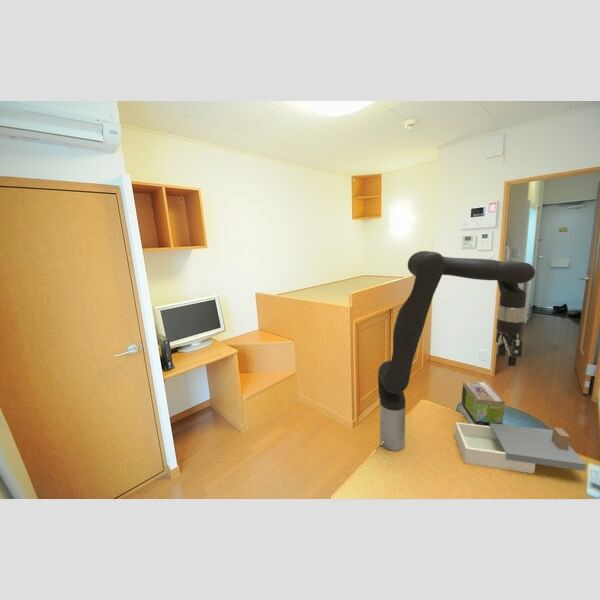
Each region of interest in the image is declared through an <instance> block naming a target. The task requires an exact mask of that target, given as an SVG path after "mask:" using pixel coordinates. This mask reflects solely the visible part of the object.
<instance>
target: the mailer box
mask: <svg viewBox="0 0 600 600" xmlns="http://www.w3.org/2000/svg"><path fill="white" fill-rule="evenodd" d="M454 437H455V439H456V443H457V445H458V448H459V451H460V454H461V455H462V459H463V461H464V462H463V463H465V464H468V465H469V464H470V465H474V466H481V467H489V468H495V469H500V470H506V471H507V470H509V471H515V472H521V473H526V474H532V473H534V474H535V468H536V464H534V463H527V462H520V461H513V460H506V452H505V451H504V449H503V447H502V445H501V444H500V442H499V440H498V439H497V437H496V435H495V433H494V432H493V430H492V428H491V426H484V425H476V424H469V423H465V422H458V421H457V422H456V421H455V426H454ZM527 472H528V473H527Z"/></svg>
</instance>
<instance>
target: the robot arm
mask: <svg viewBox="0 0 600 600" xmlns="http://www.w3.org/2000/svg"><path fill="white" fill-rule="evenodd" d="M407 269H408V271H409V273H410V274H411V275H413V277H415V279H414V282H413V286H412V290H411V292H410V294H409V296H408V297H407V299H406V300H405V301H404V303H403V304H402V305H401V307H400V309H399V310H398V312H397V316H396V319H395V323H394V328H393V333H392V334H393V335H392V355H391V360H386V361H384V362H382V363H381V365H380V366H379V368H378V370H377V371H378V372H377V384H378V389H377V390H378V395H379V445H380V444H381V443H382V442H383V441H384V442H383V443H382V445H381V446H380V447H383V448H385V449H387V450H390V451H394V452H395V451H398V452H399V451H400V450H403V449H404V448H405V446H406V445H405V443H406V396H405V393H404V391H405V390H406V389H407V387H408V385H409V383H410V378H411V377H410V376H411V372H412V367H413V362H414V359H415V355H416V352H417V350H418V346H419V342H420V339H421V336H422V333H423V331H424V327H425V324H426V321H427V320H426V319H427V316H428V313H429V310H430V307H431V303H432V300H433V298H434V295H435V293H436V290H437V288H438V286H439V283H440V282H441V279H442V277H443V276H453V277H458V278H464V279H470V280H478V281H480V280H481V281H497V284H498V289H499V293H500V295H499V306H498V310H497V319H496V336H495V343H497V346H498V348H497V355H498V356H499V357H505V356H506V352H507V354H508V355H507V365H508V366H509V367H516V365H517V359H518V358H521V357H522V350H523V340H522V339H519V338H518V335H519V334H522V333H524V328H525V327H524V324H525V316H526V301H527V299H526V298H527V292H526V291H525V290H523V289H521V288H520V287H519V284H526V283H528V282H530V281H531V280H532V279H533V278H534V277H535V276H536V269H535V268H534V266H533V265H531V264H530V263H528V262H525V261H524V262H522V261H514V260H513V261H512V260H510V261H508V260H507V261H501V260H496V259H486V258H465V257H463V258H462V257H449V256H443V255H442V254H441V253H440V252H436V251H429V250H428V251H427V250H420V251H417V252H415V253H413V254H412V255H411V256H410V257H409V258H408V261H407Z"/></svg>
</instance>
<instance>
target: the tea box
mask: <svg viewBox="0 0 600 600" xmlns="http://www.w3.org/2000/svg"><path fill="white" fill-rule="evenodd" d="M461 391H462V393H461V405H460V410H461V413H462V414H463V415H464V417H465V418H466V420H467V422H468V424H476V425H484V426H489V423H494V424H503V423H504V422H503V419H504V411H505V404H506V403H505V402H506V401H505V400H504V399H503V398H502V397H501V396H500V394H499V393H497V391H496V390H495V389H494V388H493V386H491V385H490V384H489V383H488V382H485V381H483V382H482V381H465V380H464V381H462V390H461Z"/></svg>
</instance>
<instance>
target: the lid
mask: <svg viewBox="0 0 600 600" xmlns="http://www.w3.org/2000/svg"><path fill="white" fill-rule="evenodd" d="M489 426H491V428H492V430H493V432H494V433H495V435H496V437H497V439H498V440H499V442H500V444H501V445H502V447H503V449H504V451H505V452H506V460H513V461H520V462H527V463H534V464H535V465H542V466H548V467H555V468H562V469H568V470H569V469H570V470H575V471H582V472H585V471H586V469H587V464H586V463H585V461H584V460H583V459H582V458H581V457H580V455H578V453H576V451H575V450H574V449H573V447H571V446H570V440H571V436H570V435H569V434H568V433H567V432H566V430H564V429H563V428H562V427H561V428H560V427H553V428H552V429H545V428H537V427H527V426H519V425H510V424H504V423H502V424H494V423H489Z"/></svg>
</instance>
